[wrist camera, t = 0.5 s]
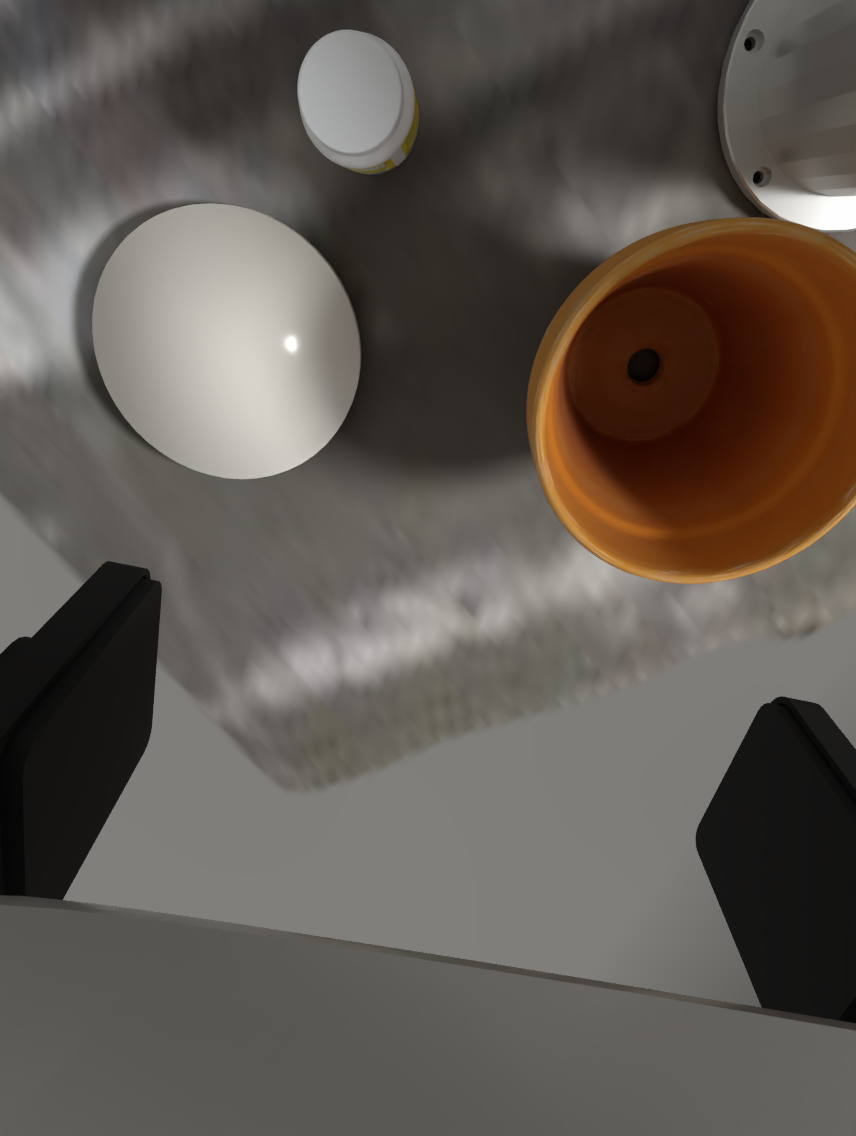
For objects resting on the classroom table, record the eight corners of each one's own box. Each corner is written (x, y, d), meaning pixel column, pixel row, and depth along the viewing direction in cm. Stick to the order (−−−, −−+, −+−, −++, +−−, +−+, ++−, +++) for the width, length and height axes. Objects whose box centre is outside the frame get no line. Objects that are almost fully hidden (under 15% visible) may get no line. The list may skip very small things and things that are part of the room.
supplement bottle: (376, 34, 33) (357, -19, 26) (439, 128, 35) (439, 103, 27) (300, 111, 35) (260, 81, 27) (364, 198, 36) (344, 192, 29)
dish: (210, 137, 35) (200, 133, 34) (415, 348, 39) (414, 352, 38) (54, 346, 40) (40, 351, 38) (253, 516, 44) (247, 526, 42)
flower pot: (460, 308, 38) (468, 347, 27) (717, 159, 35) (854, 130, 24) (569, 525, 44) (617, 637, 32) (802, 412, 41) (948, 491, 29)
